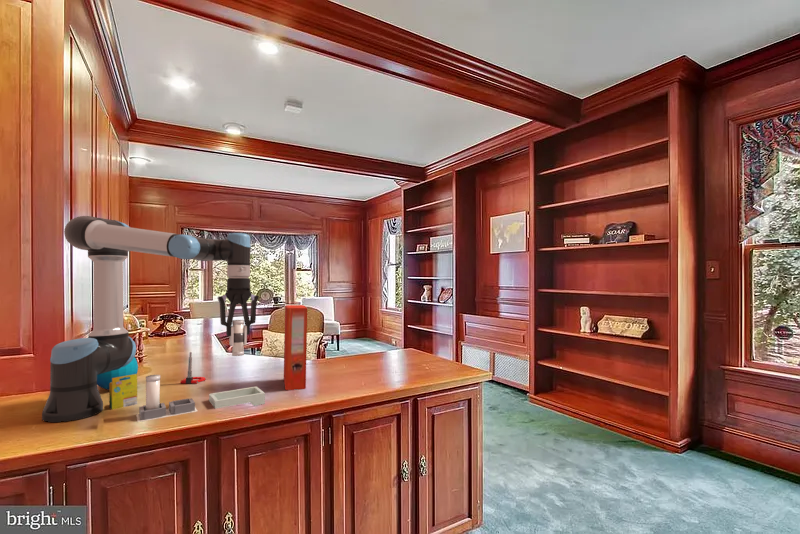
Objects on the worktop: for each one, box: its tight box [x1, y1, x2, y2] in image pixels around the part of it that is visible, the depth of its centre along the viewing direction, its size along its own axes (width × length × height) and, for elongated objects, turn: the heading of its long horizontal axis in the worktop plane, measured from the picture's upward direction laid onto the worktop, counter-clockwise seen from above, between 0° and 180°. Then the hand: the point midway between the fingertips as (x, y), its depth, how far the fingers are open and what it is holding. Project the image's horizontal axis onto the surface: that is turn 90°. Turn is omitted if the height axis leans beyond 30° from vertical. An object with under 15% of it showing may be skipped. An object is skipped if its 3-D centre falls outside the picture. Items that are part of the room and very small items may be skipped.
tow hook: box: [180, 351, 206, 385], centre depth 168 cm, size 8×13×9 cm
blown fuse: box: [231, 319, 245, 357], centre depth 137 cm, size 4×4×12 cm
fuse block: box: [135, 397, 198, 423], centre depth 124 cm, size 16×8×4 cm, turn 126°
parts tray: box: [208, 385, 266, 409], centre depth 137 cm, size 16×10×4 cm, turn 126°
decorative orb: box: [97, 356, 139, 390], centre depth 155 cm, size 15×15×15 cm
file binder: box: [283, 304, 308, 391], centre depth 164 cm, size 8×17×32 cm, turn 19°
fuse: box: [145, 374, 161, 410], centre depth 122 cm, size 4×4×12 cm
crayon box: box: [108, 373, 138, 411], centre depth 131 cm, size 7×3×12 cm, turn 141°
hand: (238, 344), depth 137 cm, fingers closed on blown fuse, 4 cm apart
